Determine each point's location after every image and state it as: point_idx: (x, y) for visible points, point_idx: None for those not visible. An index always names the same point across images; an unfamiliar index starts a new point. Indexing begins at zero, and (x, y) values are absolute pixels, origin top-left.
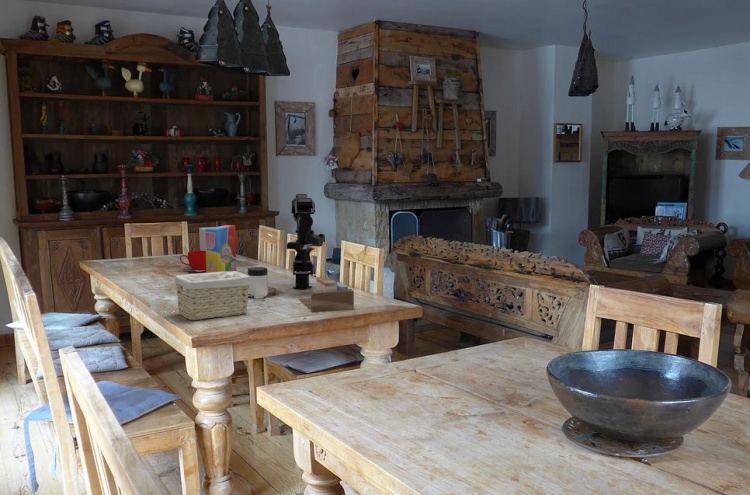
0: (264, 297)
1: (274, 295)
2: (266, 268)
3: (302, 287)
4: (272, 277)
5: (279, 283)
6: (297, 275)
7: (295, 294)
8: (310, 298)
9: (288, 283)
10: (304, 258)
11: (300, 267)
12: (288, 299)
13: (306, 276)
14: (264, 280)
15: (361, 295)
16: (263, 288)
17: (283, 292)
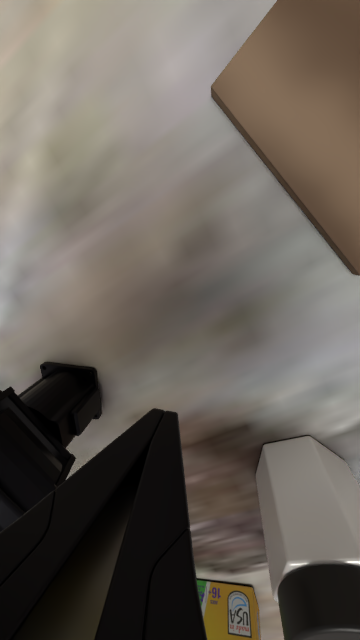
0: (317, 441)
1: (248, 425)
2: (348, 634)
3: (89, 383)
4: None
5: None
6: (62, 441)
7: (192, 361)
8: (323, 215)
9: None
10: (187, 516)
11: (35, 466)
12: (312, 341)
13: (37, 403)
14: (358, 528)
15: (42, 5)
16: (339, 483)
17: (178, 417)
